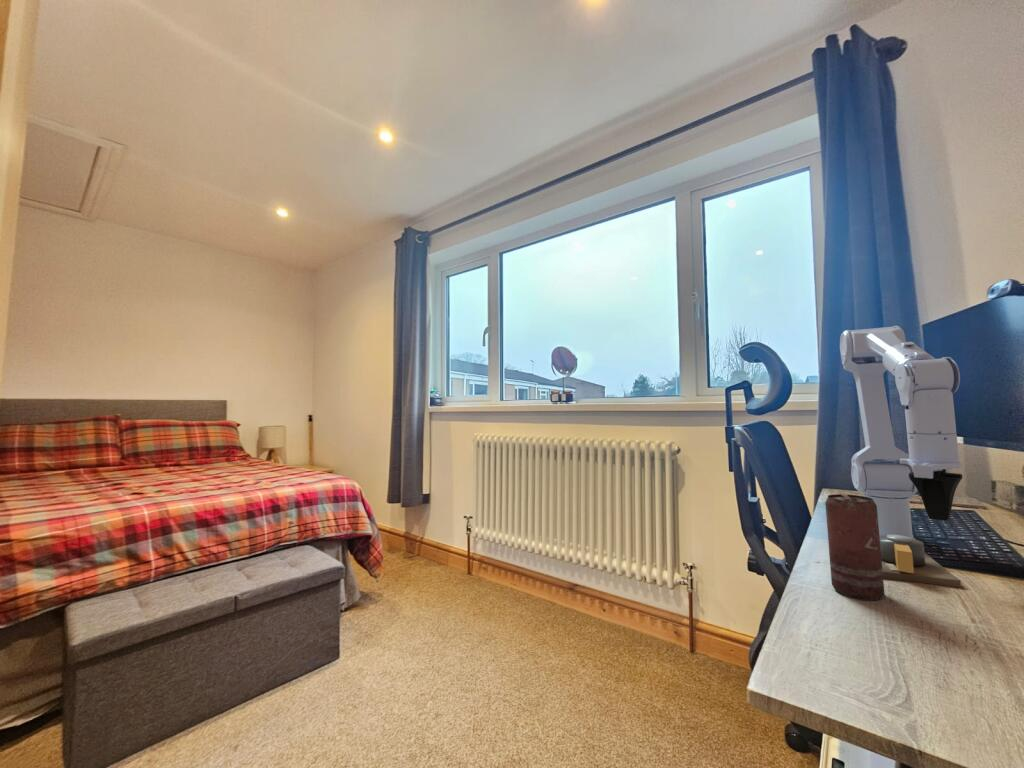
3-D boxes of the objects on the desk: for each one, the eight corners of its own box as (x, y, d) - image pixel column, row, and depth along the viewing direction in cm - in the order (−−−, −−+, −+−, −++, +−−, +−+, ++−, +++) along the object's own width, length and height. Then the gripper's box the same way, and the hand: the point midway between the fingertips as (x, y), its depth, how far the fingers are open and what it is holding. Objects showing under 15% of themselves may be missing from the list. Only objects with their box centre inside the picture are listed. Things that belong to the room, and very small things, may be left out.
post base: (854, 551, 81) (854, 544, 81) (924, 558, 76) (924, 551, 76) (875, 577, 68) (875, 569, 69) (961, 587, 64) (960, 579, 64)
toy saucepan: (876, 551, 77) (874, 530, 77) (922, 557, 73) (920, 535, 73) (881, 568, 69) (879, 545, 69) (932, 576, 65) (930, 551, 65)
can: (863, 583, 66) (855, 492, 67) (896, 601, 60) (887, 500, 61) (822, 583, 67) (815, 492, 68) (849, 601, 60) (841, 501, 61)
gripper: (910, 430, 76) (917, 507, 75) (884, 435, 68) (892, 522, 67) (967, 431, 70) (975, 515, 69) (947, 436, 62) (956, 531, 61)
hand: (939, 519), depth 68 cm, fingers closed
